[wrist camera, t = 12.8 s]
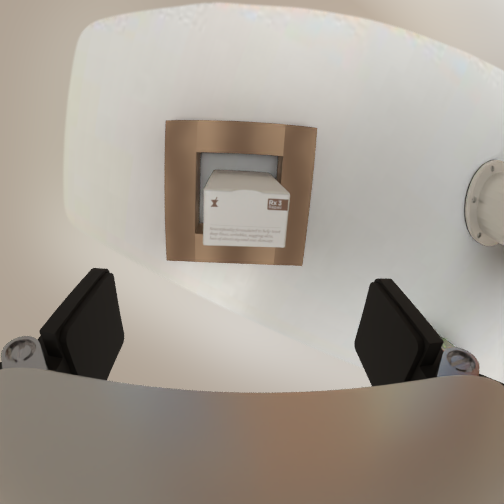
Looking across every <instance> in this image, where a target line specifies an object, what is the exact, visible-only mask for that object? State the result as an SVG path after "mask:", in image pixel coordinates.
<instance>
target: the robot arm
mask: <svg viewBox="0 0 504 504" xmlns="http://www.w3.org/2000/svg"><path fill="white" fill-rule="evenodd" d="M465 217H466V223H467V227H468V230H469V232H470V234H471V236H472V237H473V238H474V239H475V240H476V241H477V242H479V243H480V244H482V245H484V246H494V245H497V244H499V243H500V244H502V245H504V162H503V161H499V160H492V161H489V162H487V163H485V164H484V165H483V166H482V167H481V168H480V169H479V170H478V171H477V173H476V174H475V175H474V177H473V179H472V181H471V184H470V187H469V189H468V193H467V198H466V206H465ZM40 334H41V336H40V337H39V339H38V340H37V339H36V338H34V337H30V336H22V337H18V338H15V339H13V340H11V341H10V342H8V343H7V344H6V345H5V346H4V348H3V350H2V353H1V360H2V362H0V504H504V384H503V383H501V382H498V381H496V380H493V379H491V378H488V377H486V376H484V375H481V374H479V362H478V361H477V359H476V358H475V356H474V355H473V354H471V353H470V352H468V351H466V350H464V349H461V348H456V347H452V348H448V349H446V350H445V351H443V350H442V348H441V347H442V345H443V343H444V341H443V340H442V339H441V337H440V336H439V335H438V334H437V332H436V331H435V330H434V329H433V327H432V326H431V325H430V324H429V323H428V321H427V320H426V319H425V318H424V316H423V315H422V314H421V313H420V312H419V310H418V309H417V308H416V307H415V306H414V305H413V303H412V302H411V301H410V300H409V299H408V297H407V296H406V295H405V294H404V293H403V292H402V291H401V289H400V288H399V287H398V286H397V285H396V284H395V283H394V281H393V280H392V279H376V280H375V281H374V282H372V283H371V284H370V287H369V291H368V295H367V299H366V302H365V306H364V310H363V314H362V317H361V321H360V325H359V328H358V332H357V335H356V338H355V350H356V352H357V354H358V356H359V358H360V361H361V363H362V365H363V367H364V369H365V372H366V374H367V376H368V378H369V380H370V383H371V385H372V386H371V387H362V388H352V389H341V390H327V391H311V392H283V393H239V392H211V391H193V390H181V389H170V388H160V387H150V386H142V385H134V384H127V383H120V382H113V381H107V378H108V376H109V373H110V371H111V369H112V367H113V364H114V362H115V360H116V358H117V355H118V353H119V351H120V349H121V347H122V344H123V341H124V331H123V326H122V321H121V316H120V311H119V305H118V299H117V293H116V287H115V281H114V276H113V274H112V273H109V270H108V269H99V268H93V269H91V271H90V272H89V273H88V274H87V275H86V276H85V277H84V278H83V279H82V280H81V282H80V283H79V284H78V285H77V286H76V287H75V288H74V290H73V291H72V292H71V293H70V294H69V295H68V297H67V298H66V299H65V300H64V302H63V303H62V304H61V305H60V306H59V307H58V308H57V310H56V311H55V312H54V313H53V315H52V316H51V317H50V318H49V320H48V321H47V322H46V323H45V325H44V326H43V327H42V328H41V329H40Z"/></svg>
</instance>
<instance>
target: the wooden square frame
mask: <svg viewBox="0 0 504 504" xmlns="http://www.w3.org/2000/svg"><path fill="white" fill-rule="evenodd" d="M316 137H317V128H313V127H304V126H295V125H284V124H272V123H259V122H241V121H211V120H172V121H166V129H165V231H166V255H167V260H170V261H192V262H216V263H240V264H267V265H295V266H302V263H303V256H304V248H305V241H306V233H307V224H308V216H309V207H310V198H311V189H312V180H313V170H314V159H315V148H316ZM201 152H216V153H242V154H260V155H275V156H278V166H277V179H276V180H277V181H278V182H279V183H280V184H281V185H282V186H283V187H284V188H285V189H286V190H287V191H288V192H289V193H290V202H289V211H288V221H287V231H286V241H285V247H284V248H281V247H247V246H208V245H203V223H199V203H200V161H201Z"/></svg>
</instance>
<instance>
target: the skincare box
mask: <svg viewBox="0 0 504 504" xmlns="http://www.w3.org/2000/svg"><path fill="white" fill-rule="evenodd" d="M289 202H290V193H289V192H288V191H287V190H286V189H285V188H284V187H283V186H282V185H281V184H280V183H279V182H278V181H277V180H276V179H275V178H274V177H273V176H272V175H271V174H270V173H265V172H250V171H232V170H214V171H213V173H212V174H211V176H210V178H209V180H208V182H207V184H206V186H205V188H204V189H203V245H208V246H247V247H281V248H284V247H285V241H286V231H287V221H288V211H289Z"/></svg>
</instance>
